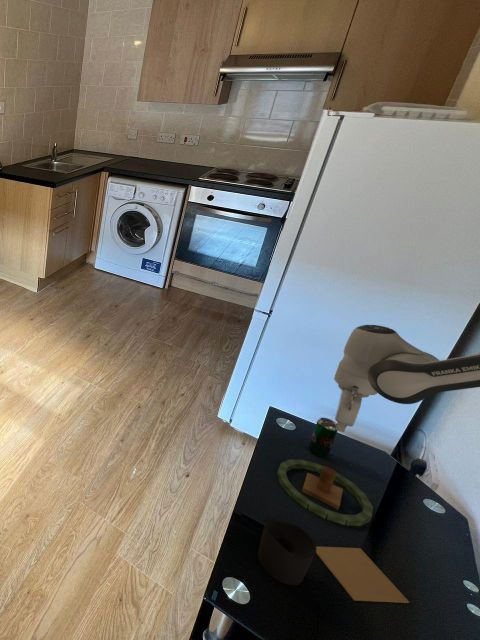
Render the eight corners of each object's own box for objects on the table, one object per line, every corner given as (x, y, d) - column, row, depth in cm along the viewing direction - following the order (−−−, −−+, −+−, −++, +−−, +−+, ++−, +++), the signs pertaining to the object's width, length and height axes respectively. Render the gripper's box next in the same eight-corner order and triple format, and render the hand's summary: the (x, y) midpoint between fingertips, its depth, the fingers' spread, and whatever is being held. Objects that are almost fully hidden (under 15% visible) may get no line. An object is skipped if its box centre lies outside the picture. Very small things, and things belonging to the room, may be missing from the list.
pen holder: (292, 596, 90) (305, 564, 87) (247, 559, 97) (257, 528, 94) (311, 574, 94) (323, 543, 91) (267, 540, 102) (277, 510, 99)
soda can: (309, 444, 134) (319, 414, 131) (328, 452, 131) (339, 422, 127) (306, 452, 131) (317, 421, 127) (327, 461, 127) (338, 430, 124)
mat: (359, 549, 100) (360, 548, 100) (409, 603, 89) (409, 602, 89) (311, 547, 101) (311, 546, 100) (353, 600, 89) (354, 599, 89)
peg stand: (341, 493, 116) (349, 471, 114) (338, 510, 111) (347, 487, 108) (306, 476, 122) (313, 455, 119) (301, 491, 116) (309, 469, 114)
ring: (372, 494, 116) (374, 489, 115) (368, 541, 102) (370, 536, 102) (284, 453, 130) (286, 449, 129) (270, 490, 116) (272, 485, 116)
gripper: (371, 402, 100) (353, 447, 104) (374, 370, 114) (358, 411, 118) (337, 390, 105) (322, 434, 109) (345, 361, 118) (330, 401, 122)
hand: (341, 421), depth 114 cm, fingers open, 8 cm apart
